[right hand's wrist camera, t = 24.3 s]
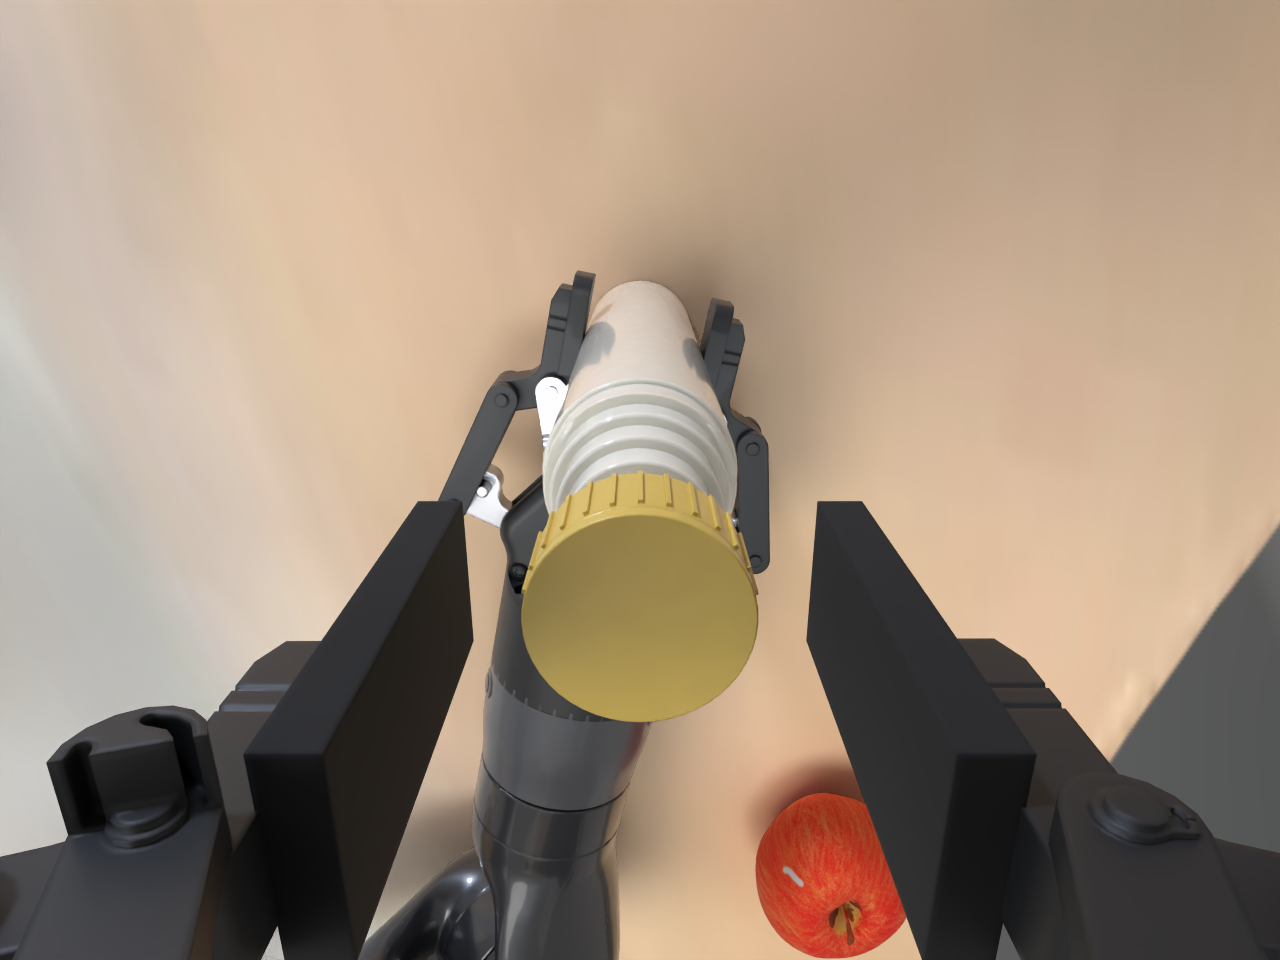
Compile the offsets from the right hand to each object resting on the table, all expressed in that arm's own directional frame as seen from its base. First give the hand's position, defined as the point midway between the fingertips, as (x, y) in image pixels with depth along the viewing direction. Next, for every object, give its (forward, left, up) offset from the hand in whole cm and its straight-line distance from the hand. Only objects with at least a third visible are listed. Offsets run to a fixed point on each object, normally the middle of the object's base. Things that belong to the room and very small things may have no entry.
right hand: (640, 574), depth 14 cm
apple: (-18, +24, -24) cm, 39 cm away
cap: (0, 0, +1) cm, 1 cm away
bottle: (0, 0, -24) cm, 24 cm away
